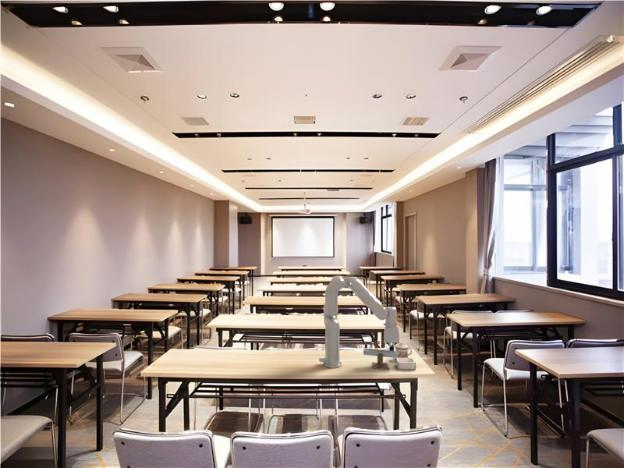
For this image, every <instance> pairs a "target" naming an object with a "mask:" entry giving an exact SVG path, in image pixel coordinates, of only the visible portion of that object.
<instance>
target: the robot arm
mask: <svg viewBox="0 0 624 468" xmlns="http://www.w3.org/2000/svg"><path fill="white" fill-rule="evenodd" d="M342 289H350V290H351V291H352V292H353V294H354V295H355V296H356V297H357V298H358V299H359V300H360V301H361V302H362V303H363V304H364V305H365V306H366V307H367V308H368V309H369V311H371V312H372V313H373V314H374V316H375V317H376V318H377V319H378V320H380V321H384V323H383V326H384V329H383V330H384V331H383V344H386V345H387V346H389V347H388V348H389V349H388V350H389V351H395V346H396V345H398V344H400V343H401V342H400V331H399V327H398V325H397V324H398V323H397V322H398V320H397V319H398V318H397V316H398V315H397V313H398V312H397V311H398V310H397V308H396V307H395V306H382V304H381V303H380V302H379V301H378V300H377V299H376V297H375V296H374V295H373V294H372V292H371V291H370V290H369V289H368V288H367V287H366V286H365V285H364V284H363V282H362V281H361V280H360V279H358V278H357V277H354V276H345V275H333V277H331V281H330V282H329V283H328V285H327V286H326V288H325V292H324V297H325V298H324V304H323V322H324V323H323V324H324V327H325V330H324V331H325V336H324V338H325V341H324V342H325V346H324V347H325V352H324V353H325V356H324V357H323V358H321V357H319V358H318V362H321V363H323V364H322V365H323V366H324V367H325V368H329V369H333V368H334V369H336V368H340V367H341V366H342V361H340V330H341V329H340V328H341V327H340V322H339V320H338V313H339V306H338V305H339V302H338V301H339V299H338V295H339V291H340V290H342ZM391 343H392V344H391Z"/></svg>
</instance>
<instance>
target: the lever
mask: <svg viewBox="0 0 624 468" xmlns="http://www.w3.org/2000/svg"><path fill="white" fill-rule="evenodd" d="M374 349H375V348H368V347H367V348H366V347H364V348H363V351H362V353H363V355H364V356H372V357H377V356H378V354H383V358H384V357H385V358H393V359H396V358H397V353H396V352H397V351H396V350H394V351H389V349H379V348H377V349H378V352H377V351H374Z"/></svg>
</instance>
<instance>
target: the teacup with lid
mask: <svg viewBox="0 0 624 468" xmlns="http://www.w3.org/2000/svg"><path fill="white" fill-rule="evenodd" d="M394 349H395V351H397V352H396V353H397V358H409V356H411V355H412V354H413V350H412V348H410V347H409V346H408V345H407V344H404V342H403V341H402V342H400V343H399V344H396V345H395V346H394ZM409 351H410V352H409Z"/></svg>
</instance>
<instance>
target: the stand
mask: <svg viewBox="0 0 624 468" xmlns="http://www.w3.org/2000/svg"><path fill="white" fill-rule="evenodd" d="M376 357H377V359H376V361H377V362H374V361H373V362H371V364H372V369H373V370H390V369H389V365H388V362H384V357H383V354H378V356H376Z"/></svg>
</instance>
